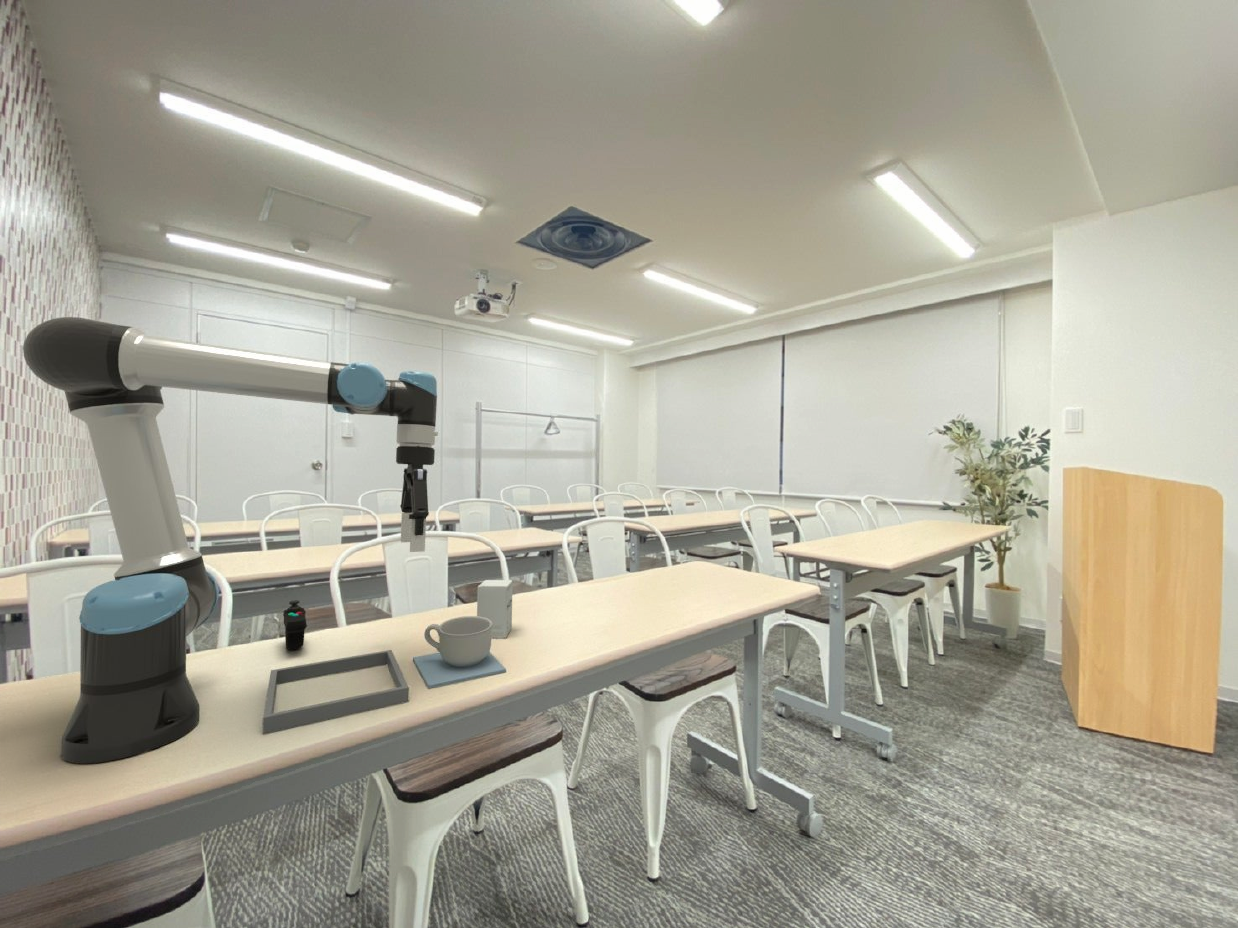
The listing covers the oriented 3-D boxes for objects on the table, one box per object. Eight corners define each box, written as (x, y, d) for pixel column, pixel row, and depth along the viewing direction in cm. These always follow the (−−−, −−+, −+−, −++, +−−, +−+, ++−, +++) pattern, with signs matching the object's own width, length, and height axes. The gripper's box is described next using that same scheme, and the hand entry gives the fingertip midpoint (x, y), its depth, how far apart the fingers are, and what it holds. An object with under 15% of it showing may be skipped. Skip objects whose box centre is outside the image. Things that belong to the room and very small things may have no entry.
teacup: (500, 654, 109) (501, 617, 109) (475, 674, 99) (476, 634, 99) (443, 648, 112) (443, 613, 112) (413, 667, 102) (413, 628, 102)
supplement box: (506, 638, 121) (507, 586, 121) (475, 638, 121) (476, 586, 121) (512, 628, 128) (513, 579, 129) (483, 628, 128) (484, 579, 128)
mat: (428, 688, 94) (428, 685, 94) (412, 660, 107) (412, 657, 107) (506, 672, 101) (506, 669, 101) (482, 647, 115) (482, 644, 115)
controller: (304, 639, 119) (304, 597, 119) (307, 656, 109) (308, 609, 109) (282, 643, 116) (282, 600, 116) (284, 660, 106) (284, 613, 106)
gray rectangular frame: (262, 734, 77) (263, 717, 77) (270, 683, 95) (270, 670, 95) (408, 701, 88) (408, 687, 88) (391, 661, 106) (391, 649, 106)
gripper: (446, 445, 97) (442, 554, 97) (424, 448, 119) (420, 538, 119) (405, 443, 94) (400, 557, 93) (389, 446, 115) (386, 539, 115)
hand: (412, 546), depth 106 cm, fingers open, 13 cm apart
